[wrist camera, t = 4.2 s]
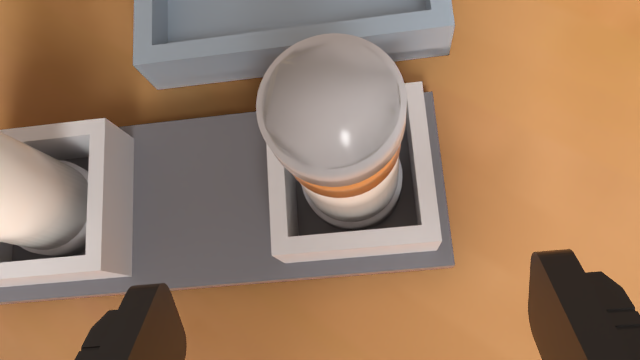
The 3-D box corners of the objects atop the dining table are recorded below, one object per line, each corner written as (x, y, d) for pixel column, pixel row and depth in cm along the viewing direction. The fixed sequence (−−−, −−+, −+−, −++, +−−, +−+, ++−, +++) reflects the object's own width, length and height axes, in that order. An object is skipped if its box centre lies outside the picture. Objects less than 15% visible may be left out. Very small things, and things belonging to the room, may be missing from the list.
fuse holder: (430, 100, 24) (436, 64, 20) (452, 267, 22) (462, 257, 19) (9, 147, 26) (-48, 121, 22) (-3, 304, 24) (-67, 301, 21)
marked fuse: (396, 132, 23) (398, 24, 14) (407, 226, 22) (414, 166, 14) (303, 143, 23) (252, 42, 15) (308, 235, 22) (258, 182, 14)
